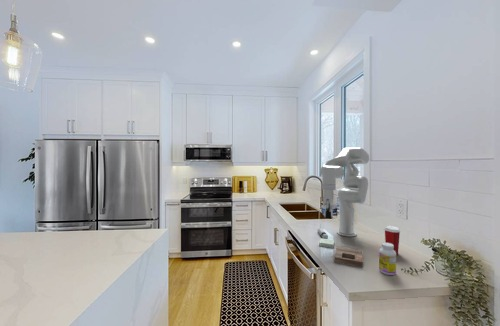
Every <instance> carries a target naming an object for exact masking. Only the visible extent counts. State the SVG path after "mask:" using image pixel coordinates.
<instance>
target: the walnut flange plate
mask: <svg viewBox="0 0 500 326" xmlns="http://www.w3.org/2000/svg"><path fill="white" fill-rule="evenodd" d="M363 256H364V255H363V250H362V249H359V248H358V249H356V248H351V247H344V246H340V245H339V246H338V245H337V246H336V248H335V252H334V257H333V263H337V264H341V265H348V266H353V267H360V268H364V258H363Z"/></svg>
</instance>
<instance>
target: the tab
mask: <svg viewBox="0 0 500 326" xmlns="http://www.w3.org/2000/svg"><path fill="white" fill-rule="evenodd" d="M318 244H319V245H318V246H319V247H324V248H331V249H334V246H335V240H334V239H329V238H328V239H323V238H322V237H321V238H320V240H319V243H318Z"/></svg>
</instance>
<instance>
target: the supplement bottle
mask: <svg viewBox="0 0 500 326" xmlns="http://www.w3.org/2000/svg"><path fill="white" fill-rule="evenodd" d="M393 249H394V245H393V244H390V243H385V242H382V243H381V248H380V249H379V254H378V257H379V258H378V260H379V261H378V262H379V263H378V270H379V271H380V273H382V274H384V275H387V276H394V275H396V274H397V255H396V252H395V251H394V250H393Z"/></svg>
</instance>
